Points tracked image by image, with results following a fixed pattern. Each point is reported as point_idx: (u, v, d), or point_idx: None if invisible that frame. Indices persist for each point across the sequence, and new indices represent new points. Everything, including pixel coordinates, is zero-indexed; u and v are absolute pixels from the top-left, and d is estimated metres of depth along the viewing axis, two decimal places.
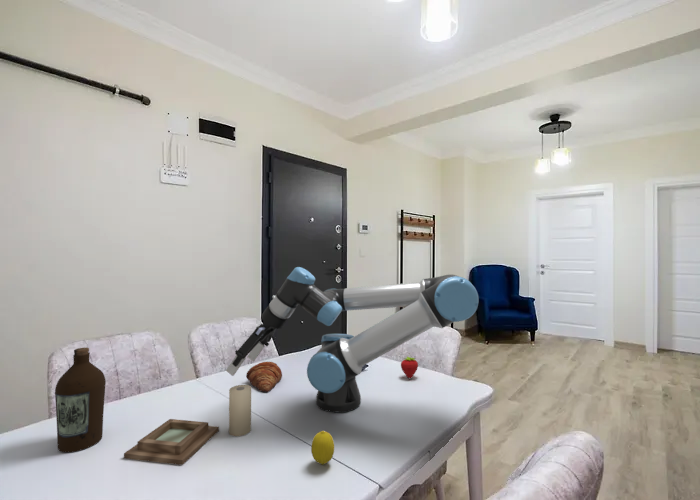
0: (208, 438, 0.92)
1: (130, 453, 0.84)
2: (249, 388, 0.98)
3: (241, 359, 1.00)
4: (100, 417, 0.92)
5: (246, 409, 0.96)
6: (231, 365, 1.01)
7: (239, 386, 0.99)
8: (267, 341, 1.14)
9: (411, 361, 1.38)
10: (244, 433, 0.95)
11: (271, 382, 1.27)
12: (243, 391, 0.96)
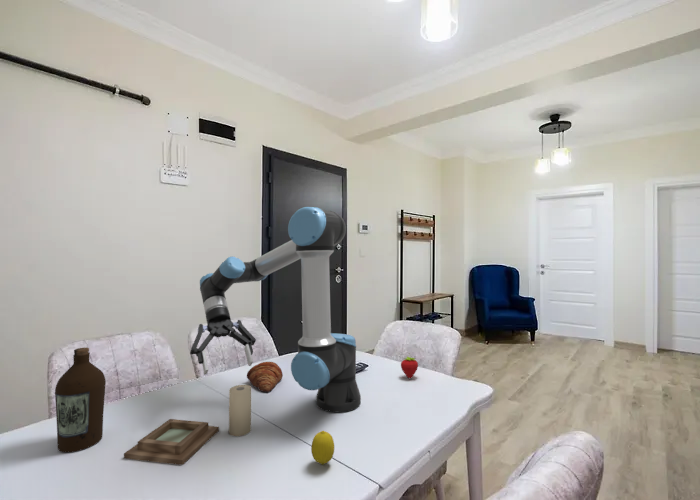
0: (208, 438, 0.92)
1: (130, 453, 0.84)
2: (249, 388, 0.98)
3: (201, 353, 1.05)
4: (100, 417, 0.92)
5: (246, 409, 0.96)
6: (203, 366, 1.04)
7: (239, 386, 0.99)
8: (246, 339, 1.14)
9: (411, 361, 1.38)
10: (244, 433, 0.95)
11: (272, 382, 1.27)
12: (243, 391, 0.96)
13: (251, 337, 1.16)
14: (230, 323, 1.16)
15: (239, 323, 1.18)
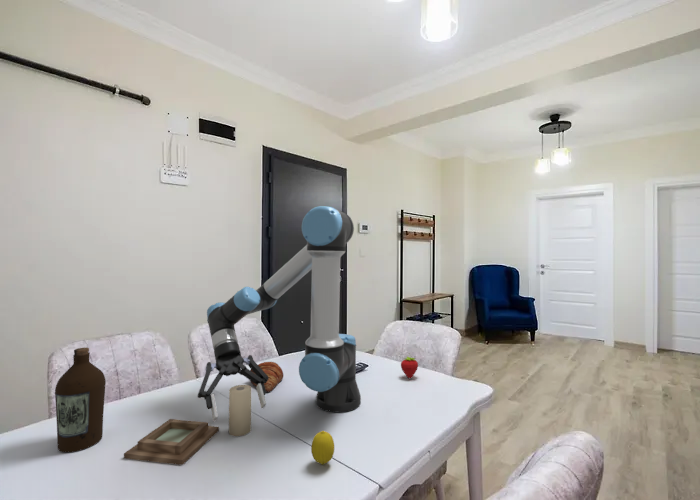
0: (208, 438, 0.92)
1: (130, 453, 0.84)
2: (249, 388, 0.98)
3: (209, 397, 0.95)
4: (100, 417, 0.92)
5: (246, 409, 0.96)
6: (212, 412, 0.94)
7: (239, 386, 0.99)
8: (258, 377, 1.05)
9: (411, 361, 1.38)
10: (244, 433, 0.95)
11: (272, 382, 1.27)
12: (243, 391, 0.96)
13: (263, 375, 1.06)
14: (240, 359, 1.07)
15: (250, 359, 1.08)
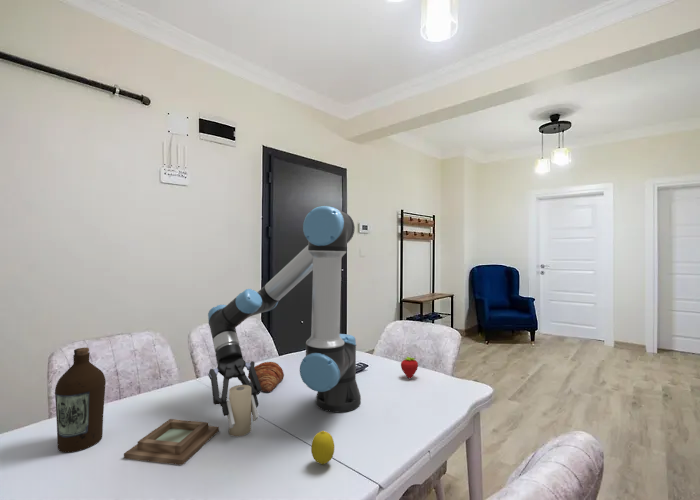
0: (208, 438, 0.92)
1: (130, 453, 0.84)
2: (249, 388, 0.98)
3: (225, 404, 0.95)
4: (100, 417, 0.92)
5: (246, 409, 0.96)
6: (228, 419, 0.94)
7: (239, 386, 0.99)
8: (252, 388, 1.01)
9: (411, 361, 1.38)
10: (244, 433, 0.95)
11: (273, 382, 1.27)
12: (243, 391, 0.96)
13: (257, 385, 1.03)
14: (242, 362, 1.06)
15: (251, 365, 1.06)
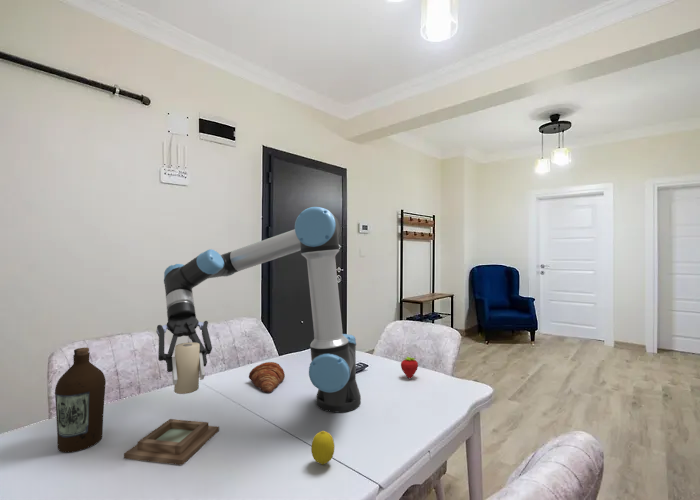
0: (208, 438, 0.92)
1: (130, 453, 0.84)
2: (197, 345, 0.93)
3: (170, 360, 0.91)
4: (100, 417, 0.92)
5: (192, 366, 0.91)
6: (172, 375, 0.90)
7: (187, 343, 0.95)
8: (202, 346, 0.97)
9: (411, 361, 1.38)
10: (189, 391, 0.91)
11: (273, 383, 1.27)
12: (189, 347, 0.91)
13: (208, 344, 0.98)
14: (194, 321, 1.01)
15: (204, 324, 1.02)
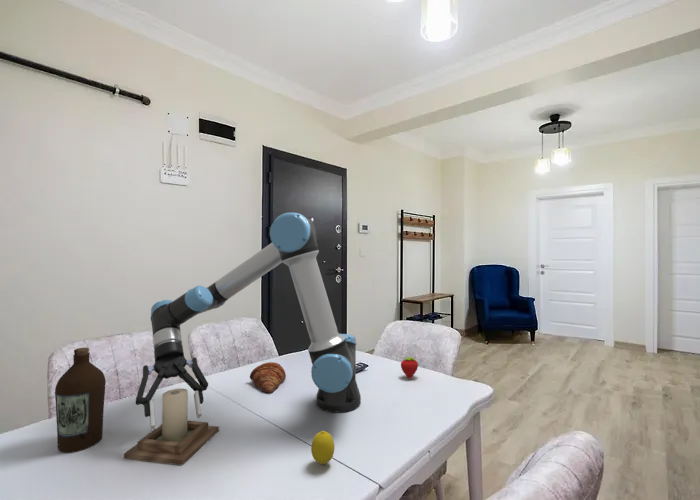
0: (208, 438, 0.92)
1: (130, 453, 0.84)
2: (185, 392, 0.91)
3: (148, 404, 0.88)
4: (100, 417, 0.92)
5: (180, 415, 0.89)
6: (150, 420, 0.87)
7: (175, 390, 0.93)
8: (197, 384, 0.96)
9: (411, 361, 1.38)
10: (177, 441, 0.89)
11: (274, 383, 1.26)
12: (177, 395, 0.89)
13: (203, 381, 0.98)
14: (183, 361, 0.99)
15: (194, 362, 1.00)
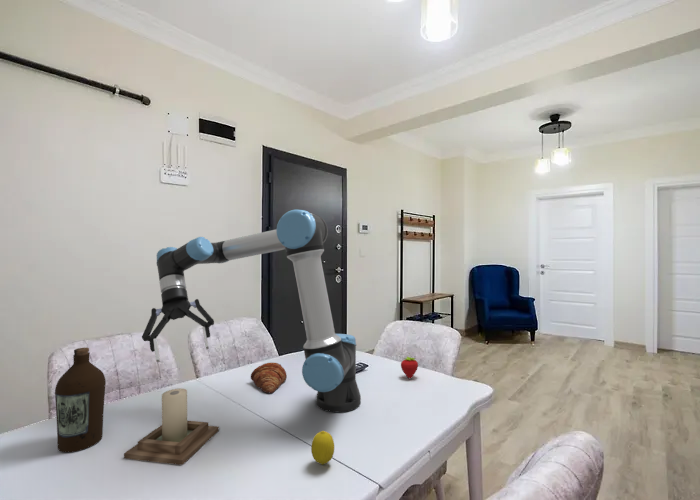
0: (208, 438, 0.92)
1: (130, 453, 0.84)
2: (184, 392, 0.91)
3: (152, 341, 1.02)
4: (100, 417, 0.92)
5: (179, 415, 0.89)
6: None
7: (174, 390, 0.93)
8: (203, 321, 1.09)
9: (411, 361, 1.38)
10: (177, 440, 0.89)
11: (275, 383, 1.26)
12: (176, 396, 0.89)
13: (209, 318, 1.10)
14: (186, 304, 1.10)
15: (196, 303, 1.11)
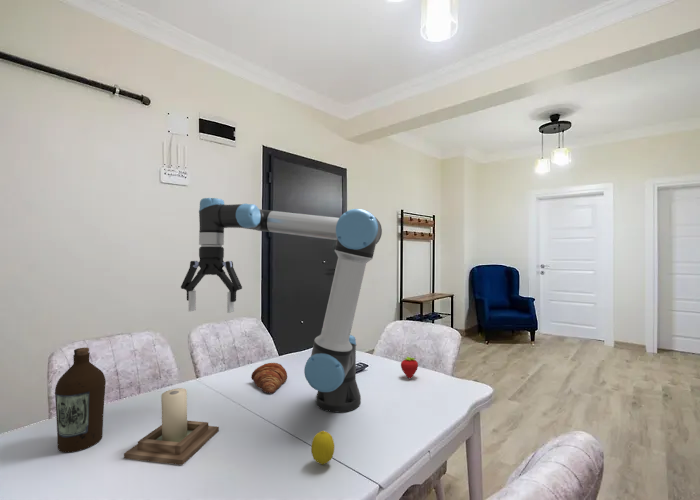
0: (208, 438, 0.92)
1: (130, 453, 0.84)
2: (184, 392, 0.91)
3: (188, 292, 1.12)
4: (100, 417, 0.92)
5: (179, 415, 0.89)
6: None
7: (174, 390, 0.93)
8: (229, 286, 1.09)
9: (411, 361, 1.38)
10: (177, 440, 0.89)
11: (275, 384, 1.26)
12: (175, 395, 0.89)
13: (234, 285, 1.09)
14: (218, 264, 1.10)
15: (227, 265, 1.09)
